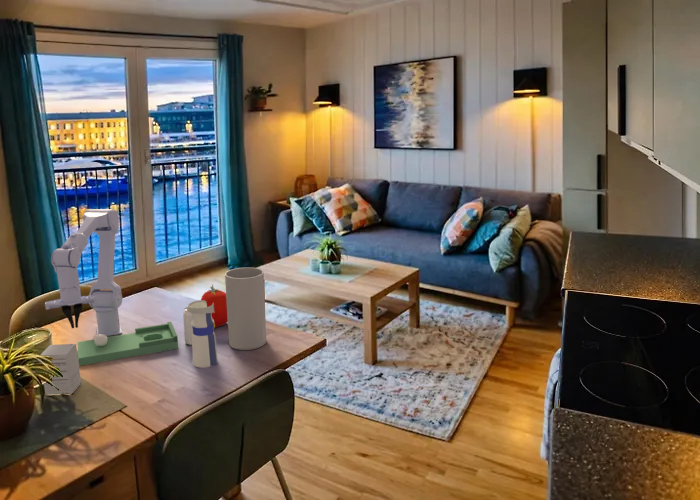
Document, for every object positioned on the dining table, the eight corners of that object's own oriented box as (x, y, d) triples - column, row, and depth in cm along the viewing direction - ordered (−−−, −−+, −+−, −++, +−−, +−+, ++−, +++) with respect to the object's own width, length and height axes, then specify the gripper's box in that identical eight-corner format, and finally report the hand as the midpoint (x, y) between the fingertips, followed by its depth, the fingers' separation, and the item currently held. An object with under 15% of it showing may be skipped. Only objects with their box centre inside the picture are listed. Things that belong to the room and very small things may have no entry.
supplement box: (55, 384, 164) (49, 344, 160) (82, 383, 164) (76, 343, 161) (44, 397, 156) (38, 355, 153) (72, 396, 157) (66, 354, 154)
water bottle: (204, 353, 183) (199, 280, 177) (224, 359, 179) (219, 284, 173) (185, 363, 176) (179, 287, 170) (205, 369, 172) (200, 292, 166)
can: (199, 346, 189) (197, 312, 186) (181, 344, 190) (179, 310, 187) (207, 339, 195) (206, 306, 192) (190, 337, 196) (188, 304, 193)
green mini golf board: (78, 348, 187) (77, 336, 186) (172, 333, 200) (171, 321, 199) (79, 365, 175) (77, 352, 174) (178, 348, 188) (177, 335, 186)
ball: (94, 344, 184) (93, 333, 183) (107, 342, 186) (106, 331, 185) (95, 349, 181) (93, 337, 180) (108, 347, 183) (107, 335, 182)
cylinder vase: (221, 343, 191) (217, 273, 185) (251, 333, 200) (248, 265, 194) (244, 354, 183) (240, 280, 177) (274, 342, 192) (271, 272, 185)
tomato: (219, 317, 215) (217, 282, 211) (240, 324, 208) (238, 287, 205) (193, 328, 205) (190, 291, 201) (214, 335, 198) (211, 297, 195)
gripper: (42, 293, 169) (48, 335, 172) (95, 286, 175) (100, 327, 178) (43, 286, 175) (49, 327, 178) (94, 280, 181) (99, 320, 184)
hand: (74, 326), depth 179 cm, fingers closed
